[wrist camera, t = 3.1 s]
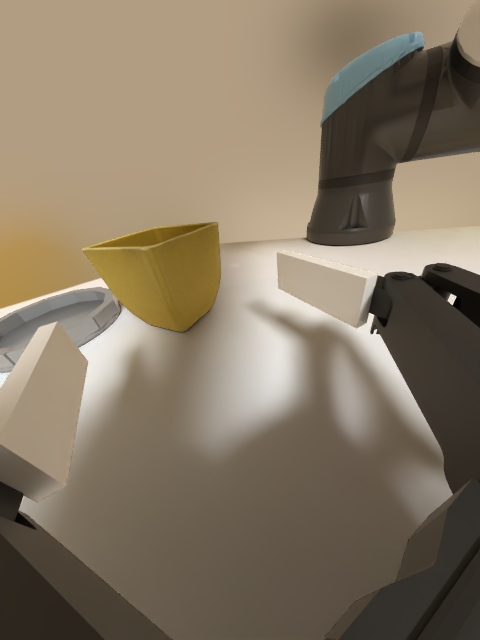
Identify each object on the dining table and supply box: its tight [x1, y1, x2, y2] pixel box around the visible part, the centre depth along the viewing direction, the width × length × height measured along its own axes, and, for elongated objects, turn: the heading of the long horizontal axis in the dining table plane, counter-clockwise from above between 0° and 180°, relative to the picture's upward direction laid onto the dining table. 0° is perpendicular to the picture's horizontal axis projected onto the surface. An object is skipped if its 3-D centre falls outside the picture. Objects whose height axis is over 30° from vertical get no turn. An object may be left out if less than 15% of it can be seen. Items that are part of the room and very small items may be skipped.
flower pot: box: [82, 222, 221, 332], centre depth 21 cm, size 9×9×9 cm
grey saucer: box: [0, 287, 121, 373], centre depth 25 cm, size 14×14×2 cm
